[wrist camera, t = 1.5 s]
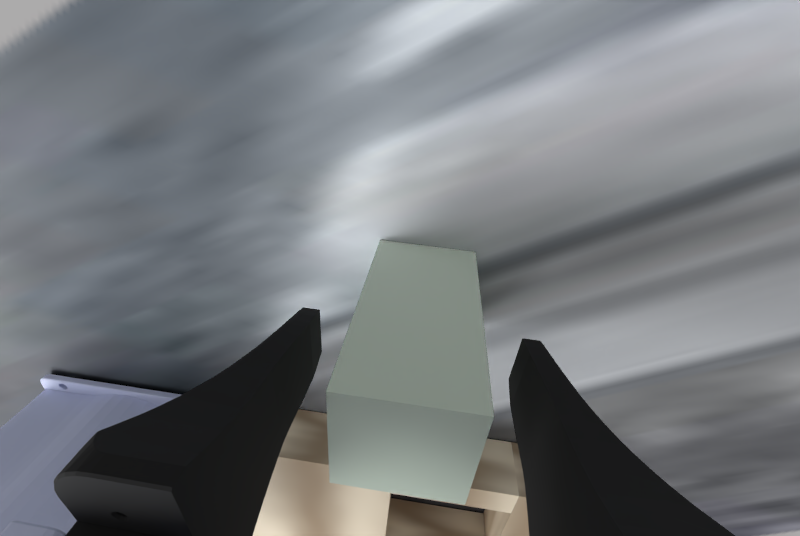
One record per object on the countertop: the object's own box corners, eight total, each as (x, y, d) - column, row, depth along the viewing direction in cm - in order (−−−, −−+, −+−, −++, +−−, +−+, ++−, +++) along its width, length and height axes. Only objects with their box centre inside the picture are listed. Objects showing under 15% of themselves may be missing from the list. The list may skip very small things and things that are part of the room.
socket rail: (259, 488, 28) (240, 533, 25) (239, 399, 23) (212, 446, 20) (503, 529, 27) (508, 581, 24) (541, 447, 21) (553, 501, 19)
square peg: (376, 314, 18) (329, 482, 11) (380, 239, 16) (325, 391, 9) (459, 325, 18) (465, 505, 11) (475, 251, 15) (494, 416, 9)
